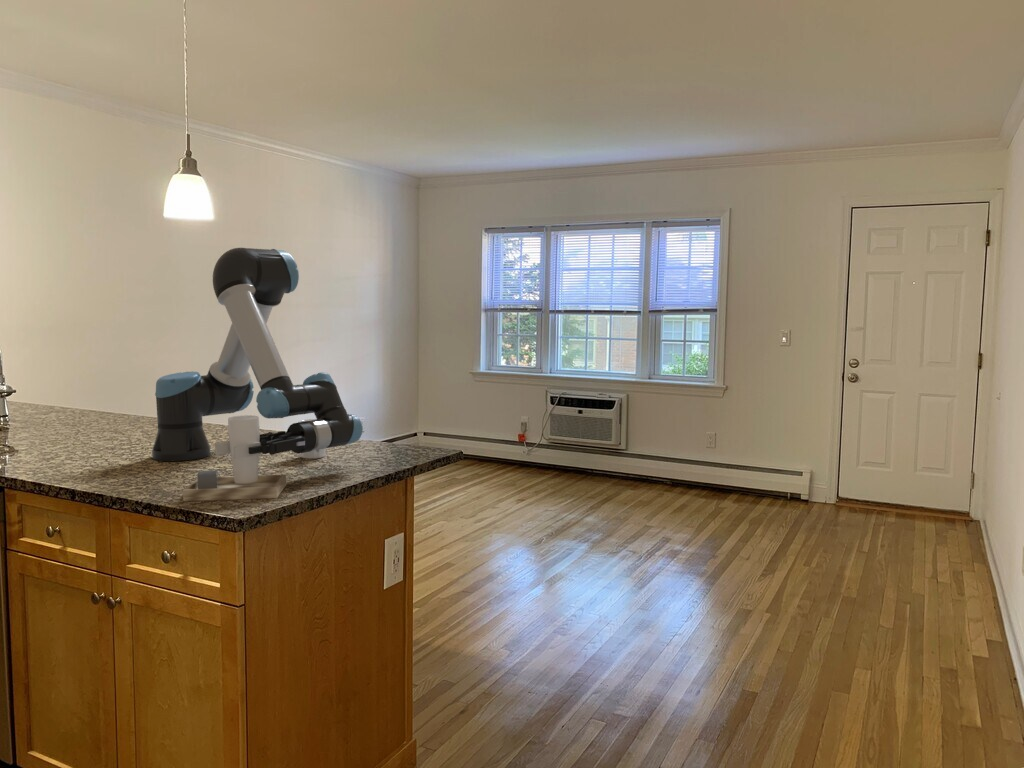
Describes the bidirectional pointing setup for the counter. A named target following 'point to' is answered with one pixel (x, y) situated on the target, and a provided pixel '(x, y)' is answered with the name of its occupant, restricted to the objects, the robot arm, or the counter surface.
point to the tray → (237, 489)
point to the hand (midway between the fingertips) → (225, 450)
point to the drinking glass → (241, 434)
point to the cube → (208, 479)
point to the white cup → (313, 453)
